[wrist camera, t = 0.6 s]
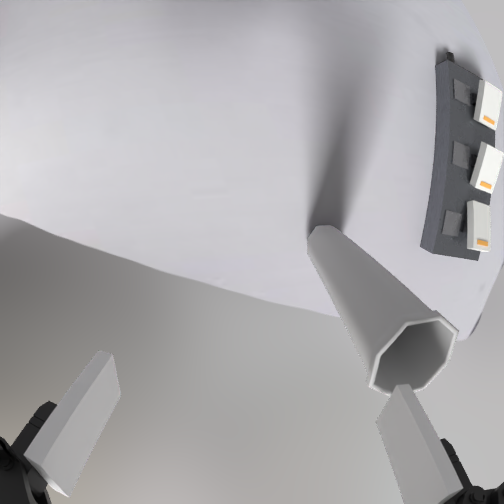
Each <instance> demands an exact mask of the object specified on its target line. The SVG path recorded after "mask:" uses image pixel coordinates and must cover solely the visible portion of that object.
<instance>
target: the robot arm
mask: <svg viewBox="0 0 504 504" xmlns="http://www.w3.org/2000/svg"><path fill="white" fill-rule="evenodd" d="M120 397H121V392H120V387H119V383H118V378H117V373H116V367H115V362H114V356H113V354H111V353H108V352H104V351H101V350H98V352H97V353H96V354H95V356H94V357H93V358H92V359H91V361H90V362H89V363H88V365H87V366H86V367H85V368H84V370H83V371H82V372H81V374H80V375H79V376H78V378H77V379H76V380H75V382H74V383H73V384H72V386H71V387H70V388H69V390H68V391H67V392H66V394H65V395H64V397H63V398H62V399H61V401H60V402H59V403H58V405H57V404H54V403H52V402H50V401H48V402H46V403H45V404H43V405H42V406H40V407H39V408H38V410H37V411H36V412H35V414H34V416H33V417H32V418H31V419H30V420H29V423H28V424H26V426H25V427H24V429H23V430H22V432H21V433H20V434H19V436H18V437H17V439H16V440H15V441H14V443H13V444H12V445H11V447H10V446H9V444H8V443H7V442H6V441H5V439H3V438H2V437H0V504H51V501H50V498H49V495H48V492H47V490H46V486H47V484H49V485H50V486H51V487H52V488H53V489H54V490H56V491H58V492H59V493H62V494H63V495H65V496H67V497H70V495H71V493H72V491H73V489H74V487H75V485H76V482H77V480H78V478H79V476H80V474H81V472H82V470H83V468H84V466H85V464H86V462H87V460H88V458H89V456H90V454H91V452H92V450H93V448H94V446H95V444H96V442H97V440H98V438H99V436H100V434H101V432H102V430H103V428H104V426H105V424H106V423H107V421H108V419H109V417H110V415H111V413H112V411H113V410H114V408H115V406H116V404H117V402H118V400H119V398H120ZM376 424H377V427H378V429H379V432H380V435H381V437H382V440H383V443H384V446H385V449H386V451H387V454H388V457H389V460H390V463H391V466H392V469H393V471H394V474H395V477H396V480H397V483H398V486H399V489H400V493H401V496H402V499H403V502H404V504H504V482H503V483H502V484H501V485H500V486H499V487H497V488H495V489H489V490H484V489H483V488H481V487H479V486H472V484H471V482H470V480H469V478H468V476H467V474H466V472H465V470H464V468H463V466H462V464H461V462H460V461H459V458H458V456H457V455H456V452H455V450H454V448H453V446H452V445H451V444H450V443H449V442H448V441H447V440H446V439H441V440H440V439H439V437H438V436H437V433H436V431H435V430H434V428H433V426H432V424H431V422H430V420H429V418H428V417H427V415H426V413H425V411H424V409H423V408H422V406H421V404H420V402H419V400H418V399H417V397H416V395H415V393H414V392H413V390H412V388H411V386H410V385H409V384H403V385H396V387H395V389H394V391H393V393H392V395H391V396H390V398H389V400H388V402H387V403H386V405H385V407H384V409H383V410H382V412H381V414H380V415H379V417H378V418H377V420H376Z"/></svg>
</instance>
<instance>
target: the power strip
mask: <svg viewBox="0 0 504 504" xmlns="http://www.w3.org/2000/svg"><path fill="white" fill-rule="evenodd" d="M446 54H447V60H446V61H444V62H442V63H440V64H438V65H436V66H435V67H436V91H437V115H436V140H435V154H434V164H433V174H432V182H431V189H430V196H429V203H428V209H427V215H426V220H425V225H424V231H423V235H422V240H421V245H420V247H422V248H423V249H425V250H427V251H429V252H431V253H432V254H439V255H445V256H452V257H458V258H464V259H470V260H476V261H478V259H479V255H480V251H477V250H472V249H467V202H469V201H472V200H474V201H477V202H480V203H483V204H486V205H488V206H489V205H490V198H491V194H490V193H488V192H485V191H483V190H480V189H477V188H475V187H473V186H472V185H471V184H470V180H471V177H472V174H473V171H474V167H475V164H476V160H477V157H478V153H479V149H480V145H481V141H482V142H484V143H486V144H488V145H490V146H492V147H494V148H495V130H493V129H491V128H489V127H487V126H485V125H483V124H481V123H480V122H478V121H476V120H474V119H473V118H474V113H475V107H476V101H477V95H478V88H479V80H483V79H481V78H479V77H478V76H476V75H474V74H473V73H471V72H469V71H468V70H466V69H464V68H462V67H460V66H459V65H457V64H455V63H454V55H453V53H451V52H447V53H446Z"/></svg>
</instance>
